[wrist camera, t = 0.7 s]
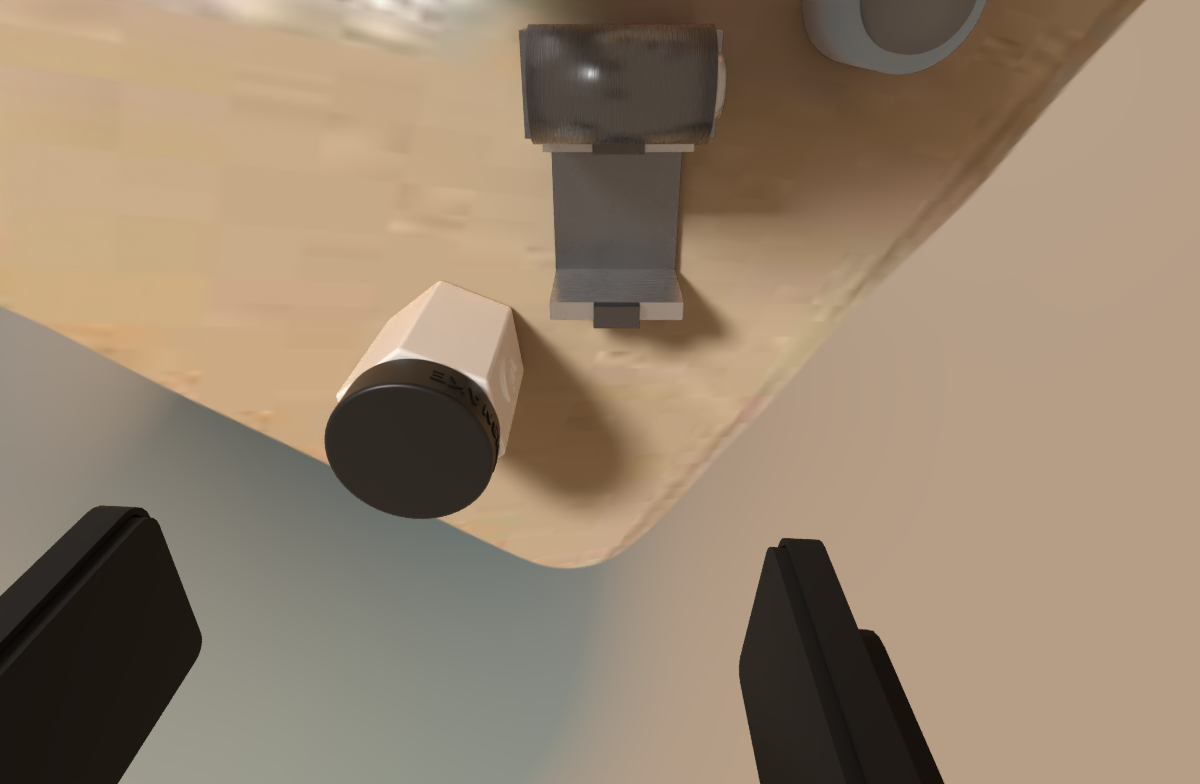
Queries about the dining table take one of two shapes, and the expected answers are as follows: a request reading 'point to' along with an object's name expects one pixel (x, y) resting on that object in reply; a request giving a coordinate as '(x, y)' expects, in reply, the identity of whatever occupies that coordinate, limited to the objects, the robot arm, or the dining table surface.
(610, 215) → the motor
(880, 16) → the grey plastic cylinder
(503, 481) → the dining table surface
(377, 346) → the jar
